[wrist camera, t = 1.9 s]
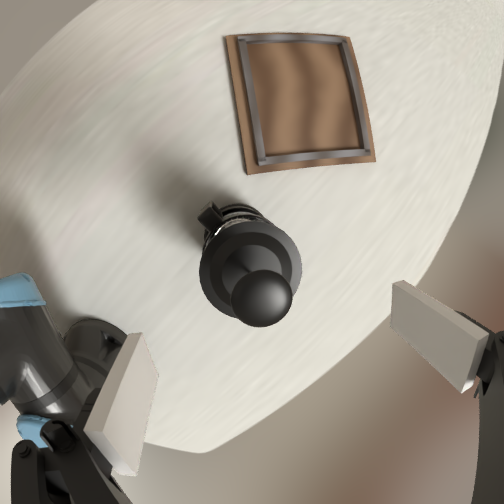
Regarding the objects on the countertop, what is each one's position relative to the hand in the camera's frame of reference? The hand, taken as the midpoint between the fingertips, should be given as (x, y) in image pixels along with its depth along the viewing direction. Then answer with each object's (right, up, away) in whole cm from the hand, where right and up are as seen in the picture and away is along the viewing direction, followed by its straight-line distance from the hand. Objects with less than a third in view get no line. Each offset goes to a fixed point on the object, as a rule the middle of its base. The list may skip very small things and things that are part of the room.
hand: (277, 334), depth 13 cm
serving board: (+6, +27, +23) cm, 36 cm away
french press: (-4, +7, +27) cm, 28 cm away
